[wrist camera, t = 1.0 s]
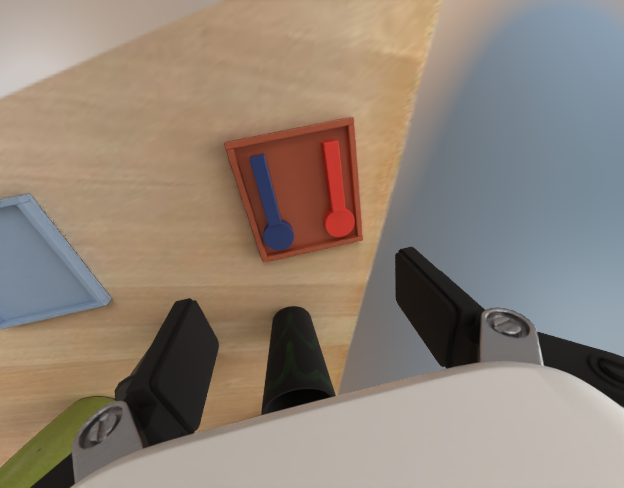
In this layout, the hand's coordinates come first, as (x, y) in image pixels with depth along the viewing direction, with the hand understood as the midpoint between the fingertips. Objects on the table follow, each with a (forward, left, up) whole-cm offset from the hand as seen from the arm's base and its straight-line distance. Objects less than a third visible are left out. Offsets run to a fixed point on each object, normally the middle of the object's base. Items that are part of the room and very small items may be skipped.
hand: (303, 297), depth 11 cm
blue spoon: (0, -2, -16) cm, 16 cm away
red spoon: (0, +5, -16) cm, 17 cm away
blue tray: (+1, -29, -17) cm, 34 cm away
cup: (+18, -3, -17) cm, 25 cm away
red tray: (0, +2, -17) cm, 17 cm away
